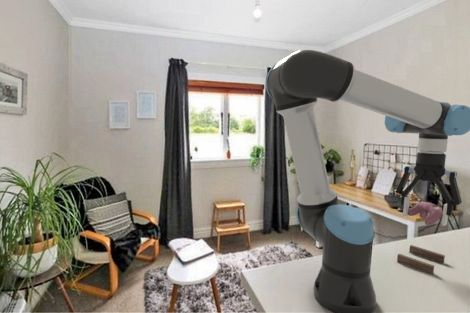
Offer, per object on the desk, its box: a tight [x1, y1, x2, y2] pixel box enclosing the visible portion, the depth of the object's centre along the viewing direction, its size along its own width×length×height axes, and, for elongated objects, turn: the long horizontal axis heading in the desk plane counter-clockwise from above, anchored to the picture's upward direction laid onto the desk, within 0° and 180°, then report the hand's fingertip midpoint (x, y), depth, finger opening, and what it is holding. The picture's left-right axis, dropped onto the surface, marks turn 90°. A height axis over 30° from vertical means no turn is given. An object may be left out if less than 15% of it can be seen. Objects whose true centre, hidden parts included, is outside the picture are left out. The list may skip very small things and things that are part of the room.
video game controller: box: [407, 200, 443, 226], centre depth 92 cm, size 10×5×7 cm, turn 2°
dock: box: [396, 244, 446, 275], centre depth 93 cm, size 12×10×2 cm
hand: (423, 219), depth 92 cm, fingers closed on video game controller, 10 cm apart
